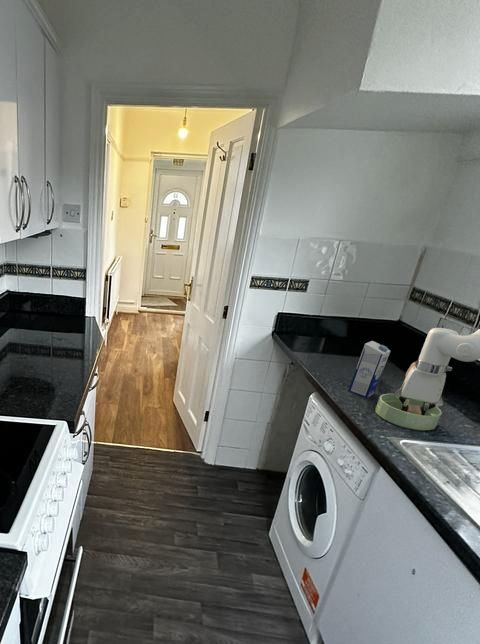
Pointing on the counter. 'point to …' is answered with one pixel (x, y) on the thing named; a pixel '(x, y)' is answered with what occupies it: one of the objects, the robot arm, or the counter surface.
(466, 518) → the counter surface
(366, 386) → the milk carton
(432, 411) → the bowl
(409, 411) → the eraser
